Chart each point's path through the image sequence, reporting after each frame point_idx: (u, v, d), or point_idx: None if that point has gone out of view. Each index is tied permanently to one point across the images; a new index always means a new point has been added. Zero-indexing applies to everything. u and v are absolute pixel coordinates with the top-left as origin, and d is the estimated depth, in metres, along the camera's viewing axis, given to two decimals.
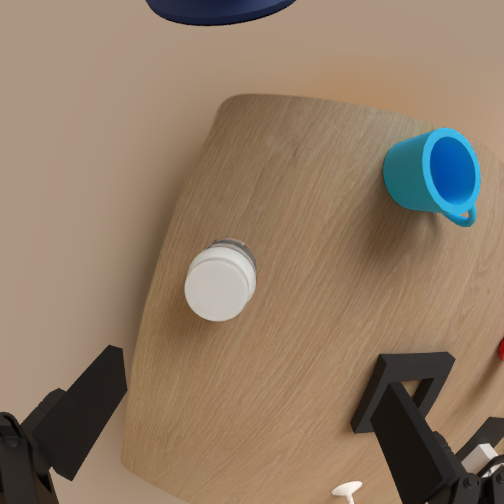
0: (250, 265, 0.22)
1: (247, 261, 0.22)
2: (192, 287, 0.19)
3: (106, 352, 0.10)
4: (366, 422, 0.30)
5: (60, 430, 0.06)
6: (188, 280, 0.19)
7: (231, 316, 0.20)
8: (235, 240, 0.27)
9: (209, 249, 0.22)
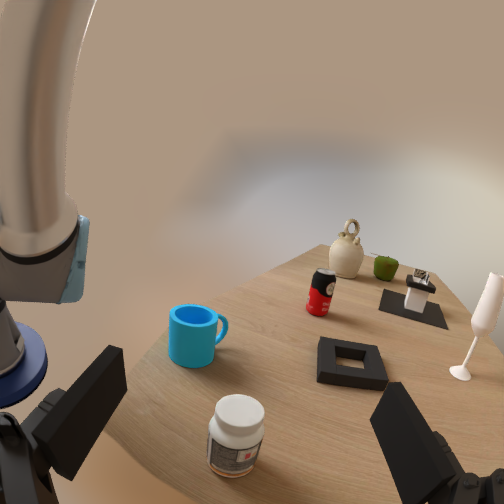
0: None
1: None
2: (234, 420, 0.21)
3: (106, 352, 0.10)
4: (375, 375, 0.41)
5: (60, 430, 0.06)
6: (228, 421, 0.21)
7: (260, 405, 0.24)
8: None
9: (209, 427, 0.22)
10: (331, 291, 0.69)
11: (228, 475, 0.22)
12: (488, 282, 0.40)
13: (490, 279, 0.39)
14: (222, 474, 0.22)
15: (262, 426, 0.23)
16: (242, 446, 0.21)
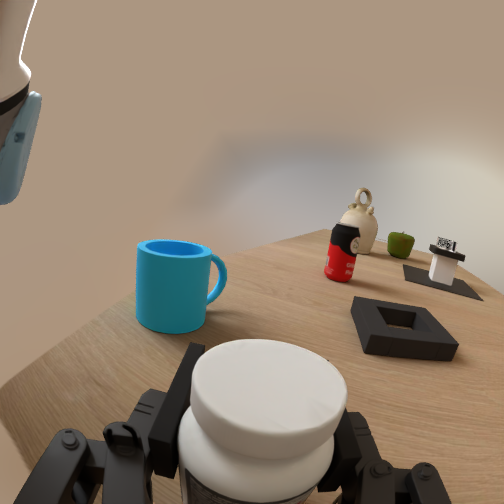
0: None
1: None
2: (258, 413, 0.06)
3: (191, 349, 0.12)
4: (441, 339, 0.26)
5: None
6: (235, 417, 0.06)
7: (326, 362, 0.08)
8: None
9: (178, 436, 0.07)
10: (355, 249, 0.54)
11: None
12: None
13: None
14: None
15: None
16: (281, 493, 0.05)
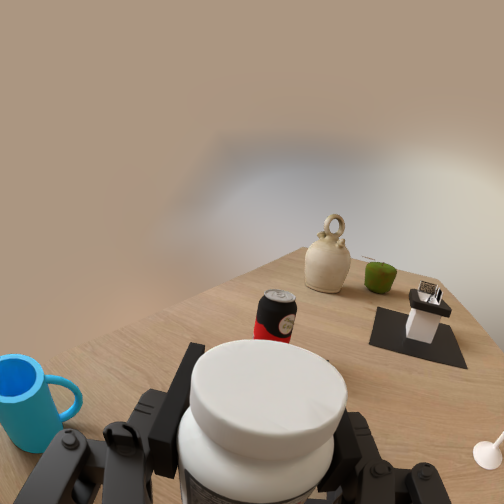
0: None
1: None
2: (258, 414, 0.06)
3: (191, 349, 0.12)
4: None
5: None
6: (235, 418, 0.06)
7: (326, 362, 0.08)
8: None
9: (177, 437, 0.07)
10: (287, 328, 0.42)
11: None
12: None
13: None
14: None
15: None
16: (281, 494, 0.05)
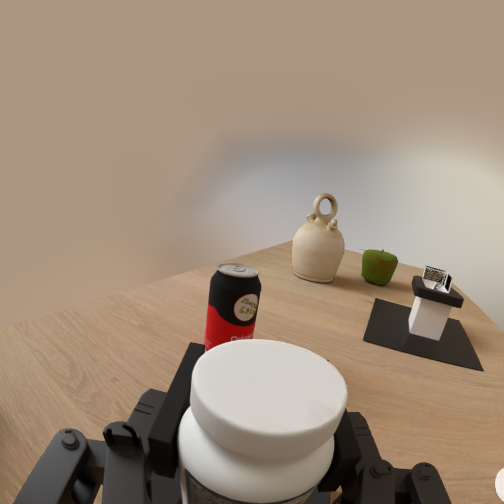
0: None
1: None
2: (258, 414, 0.06)
3: (191, 349, 0.12)
4: None
5: None
6: (235, 417, 0.06)
7: (327, 362, 0.08)
8: None
9: (178, 437, 0.07)
10: (246, 313, 0.32)
11: None
12: None
13: None
14: None
15: None
16: (281, 494, 0.05)
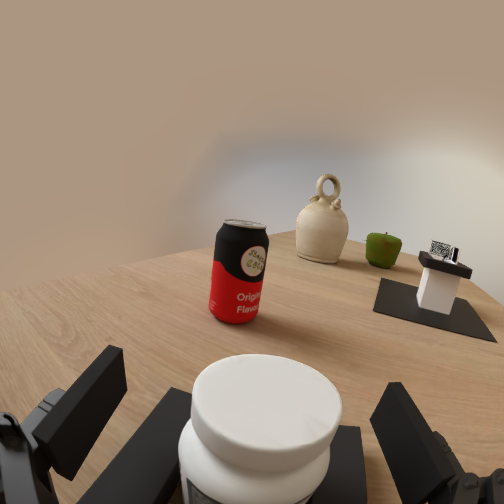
0: None
1: None
2: (256, 430, 0.06)
3: (106, 352, 0.10)
4: None
5: (60, 430, 0.06)
6: (234, 434, 0.06)
7: (323, 377, 0.08)
8: None
9: (179, 447, 0.07)
10: (254, 267, 0.31)
11: None
12: None
13: None
14: None
15: None
16: (278, 502, 0.05)
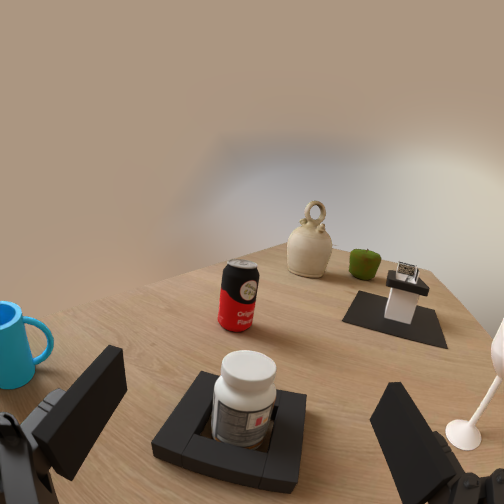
0: None
1: None
2: (243, 374, 0.20)
3: (106, 352, 0.10)
4: (270, 469, 0.17)
5: (60, 430, 0.06)
6: (237, 375, 0.20)
7: (271, 360, 0.23)
8: None
9: (215, 388, 0.22)
10: (249, 294, 0.45)
11: None
12: None
13: None
14: None
15: (273, 386, 0.22)
16: (252, 407, 0.20)
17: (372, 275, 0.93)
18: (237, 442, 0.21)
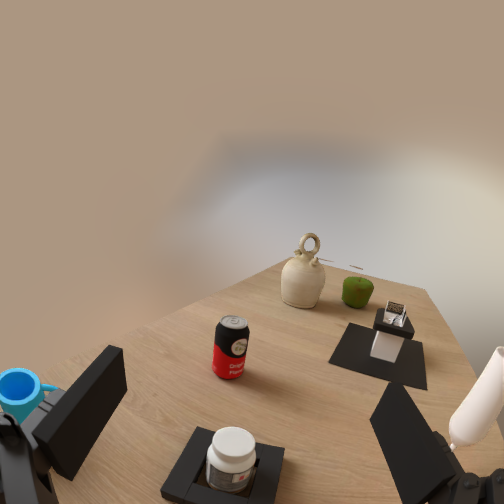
0: None
1: None
2: (229, 451, 0.23)
3: (106, 352, 0.10)
4: None
5: (60, 430, 0.06)
6: (223, 452, 0.22)
7: (251, 436, 0.25)
8: None
9: (207, 454, 0.24)
10: (240, 350, 0.48)
11: None
12: (489, 369, 0.19)
13: (493, 365, 0.19)
14: None
15: (253, 453, 0.25)
16: (236, 470, 0.22)
17: (364, 303, 0.96)
18: (226, 489, 0.23)
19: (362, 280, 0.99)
